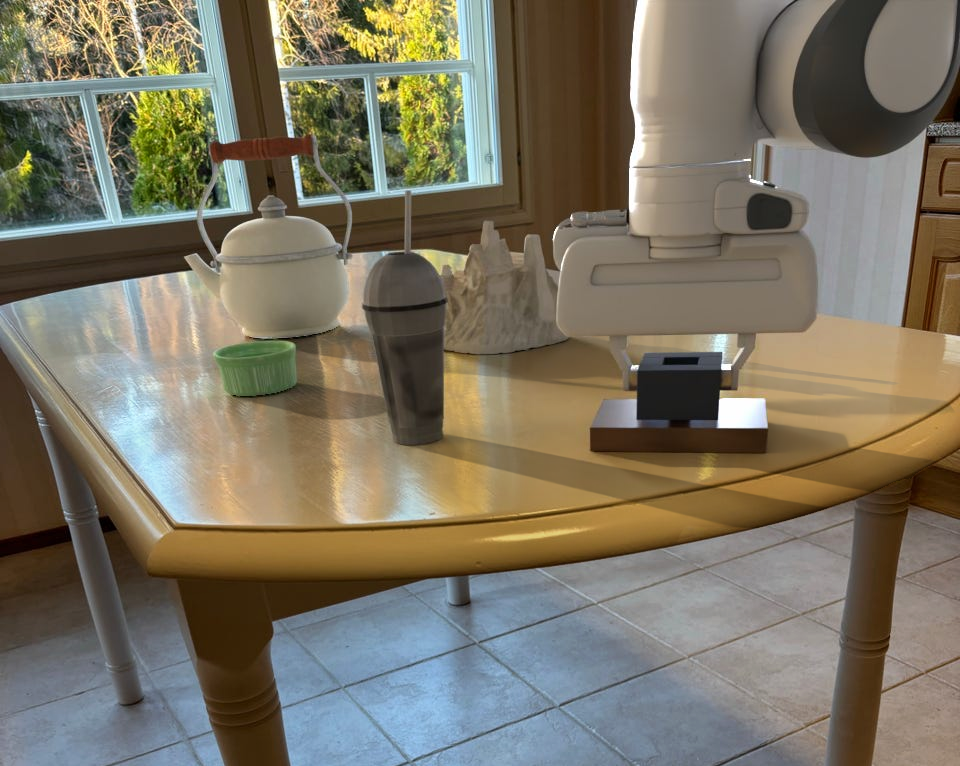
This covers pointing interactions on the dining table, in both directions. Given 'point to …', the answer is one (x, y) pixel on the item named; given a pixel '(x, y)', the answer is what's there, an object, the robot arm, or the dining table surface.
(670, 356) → the dark grey holed block
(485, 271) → the white castle figurine
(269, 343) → the ramekin
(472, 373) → the dining table surface
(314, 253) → the kettle
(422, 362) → the beverage cup
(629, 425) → the wooden peg base
